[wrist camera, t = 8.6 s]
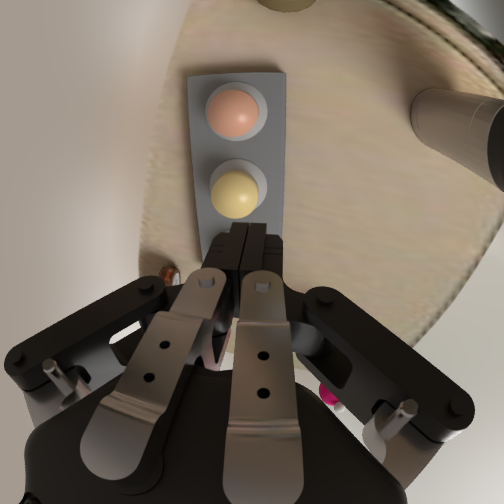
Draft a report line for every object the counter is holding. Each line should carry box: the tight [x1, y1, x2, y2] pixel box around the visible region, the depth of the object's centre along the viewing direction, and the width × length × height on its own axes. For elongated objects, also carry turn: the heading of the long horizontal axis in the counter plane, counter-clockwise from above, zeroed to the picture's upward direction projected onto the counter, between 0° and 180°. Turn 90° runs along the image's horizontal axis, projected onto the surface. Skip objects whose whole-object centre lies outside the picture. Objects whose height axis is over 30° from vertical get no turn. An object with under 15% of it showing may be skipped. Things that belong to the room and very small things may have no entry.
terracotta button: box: [208, 90, 259, 137], centre depth 29 cm, size 6×6×2 cm
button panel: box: [187, 72, 286, 262], centre depth 37 cm, size 12×30×3 cm, turn 1°
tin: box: [159, 266, 180, 286], centre depth 47 cm, size 15×3×8 cm, turn 170°
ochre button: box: [211, 170, 259, 219], centre depth 34 cm, size 6×6×2 cm
